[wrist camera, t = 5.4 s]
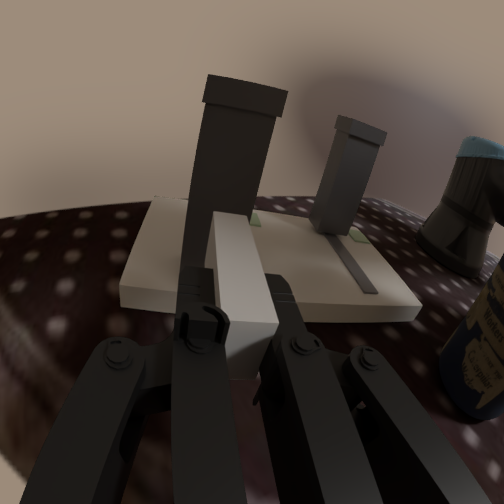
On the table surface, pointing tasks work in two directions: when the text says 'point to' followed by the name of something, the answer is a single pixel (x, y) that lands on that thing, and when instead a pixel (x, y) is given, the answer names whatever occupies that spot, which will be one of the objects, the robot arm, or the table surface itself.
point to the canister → (478, 354)
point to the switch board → (275, 267)
